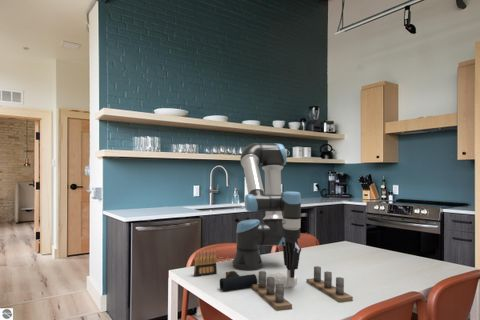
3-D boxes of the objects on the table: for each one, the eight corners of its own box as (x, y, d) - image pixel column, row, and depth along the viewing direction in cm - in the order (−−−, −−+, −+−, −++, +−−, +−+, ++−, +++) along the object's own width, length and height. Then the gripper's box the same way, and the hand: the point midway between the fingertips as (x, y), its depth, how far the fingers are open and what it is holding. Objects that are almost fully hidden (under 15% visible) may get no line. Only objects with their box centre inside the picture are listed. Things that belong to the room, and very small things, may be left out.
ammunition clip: (195, 277, 157) (195, 250, 158) (193, 275, 159) (194, 249, 159) (216, 274, 162) (217, 248, 162) (215, 273, 164) (215, 247, 164)
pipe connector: (214, 271, 149) (245, 268, 155) (213, 284, 149) (244, 279, 155) (224, 280, 138) (257, 275, 145) (224, 293, 138) (257, 288, 145)
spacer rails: (251, 288, 144) (251, 270, 144) (318, 281, 154) (318, 264, 154) (276, 310, 121) (277, 289, 121) (352, 300, 132) (352, 280, 132)
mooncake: (280, 277, 160) (280, 269, 160) (302, 283, 152) (302, 274, 152) (263, 283, 151) (264, 274, 151) (286, 289, 143) (286, 281, 143)
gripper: (276, 226, 151) (275, 280, 150) (290, 231, 138) (290, 290, 138) (291, 225, 153) (291, 279, 153) (307, 230, 141) (306, 288, 140)
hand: (290, 284), depth 145 cm, fingers closed
